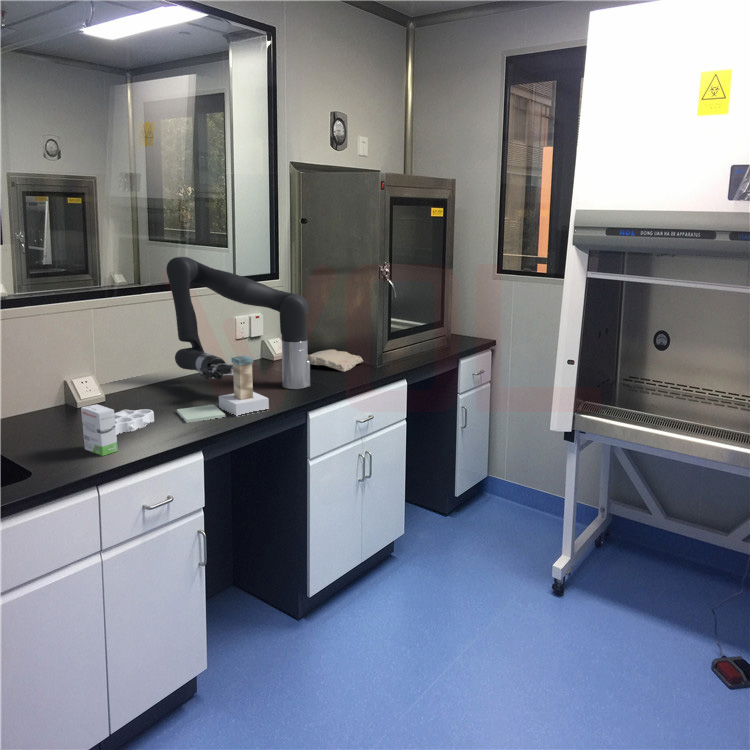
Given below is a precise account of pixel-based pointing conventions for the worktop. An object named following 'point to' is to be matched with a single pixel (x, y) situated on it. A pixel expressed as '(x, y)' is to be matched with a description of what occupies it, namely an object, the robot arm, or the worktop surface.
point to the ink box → (99, 429)
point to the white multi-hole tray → (132, 419)
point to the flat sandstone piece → (335, 359)
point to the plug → (242, 377)
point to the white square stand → (243, 404)
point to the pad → (200, 413)
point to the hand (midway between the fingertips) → (232, 375)
